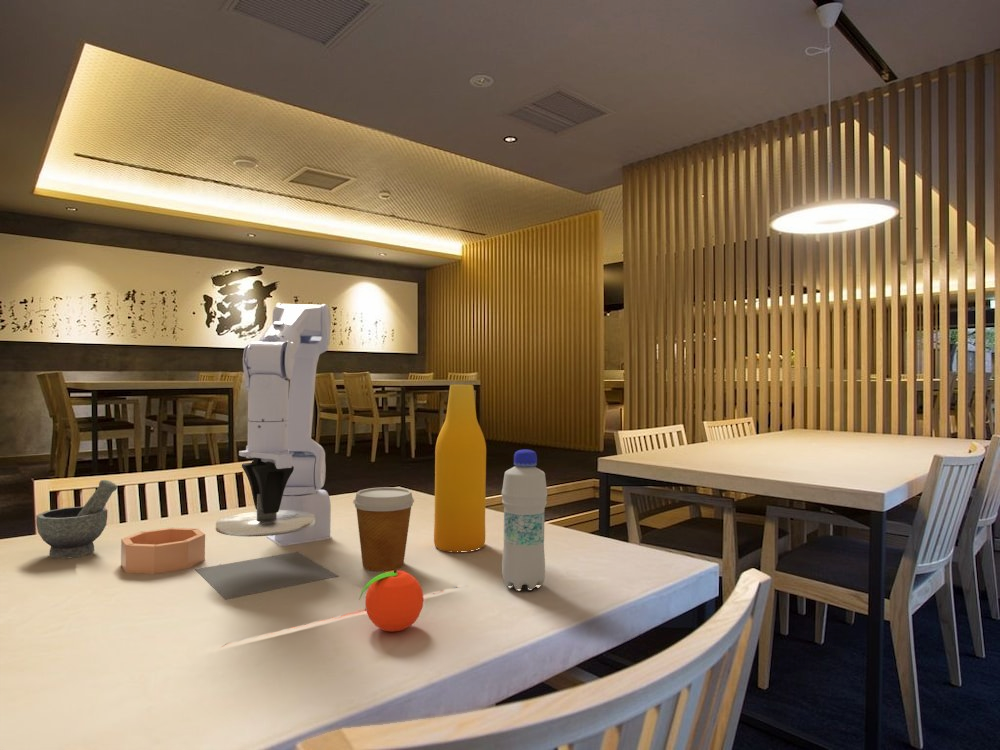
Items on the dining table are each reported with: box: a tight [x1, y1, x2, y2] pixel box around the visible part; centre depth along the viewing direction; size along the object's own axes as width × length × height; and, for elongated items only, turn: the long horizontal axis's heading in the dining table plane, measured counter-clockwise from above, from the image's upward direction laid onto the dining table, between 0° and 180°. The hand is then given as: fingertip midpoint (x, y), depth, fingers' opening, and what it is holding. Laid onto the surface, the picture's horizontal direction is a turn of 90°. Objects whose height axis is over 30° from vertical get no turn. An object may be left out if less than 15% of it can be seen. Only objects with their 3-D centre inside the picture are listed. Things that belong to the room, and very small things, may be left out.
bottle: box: [501, 449, 548, 590], centre depth 90 cm, size 7×7×20 cm
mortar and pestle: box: [35, 479, 118, 559], centre depth 104 cm, size 11×9×12 cm
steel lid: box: [215, 493, 315, 538], centre depth 93 cm, size 14×14×5 cm
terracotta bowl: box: [120, 527, 206, 575], centre depth 98 cm, size 11×11×4 cm
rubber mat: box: [194, 551, 339, 601], centre depth 93 cm, size 16×16×1 cm
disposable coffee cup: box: [352, 486, 415, 572], centre depth 98 cm, size 10×10×12 cm
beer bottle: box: [433, 384, 487, 553], centre depth 111 cm, size 9×9×29 cm
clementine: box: [358, 569, 425, 632], centre depth 74 cm, size 8×7×7 cm
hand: (266, 510), depth 93 cm, fingers closed on steel lid, 3 cm apart
